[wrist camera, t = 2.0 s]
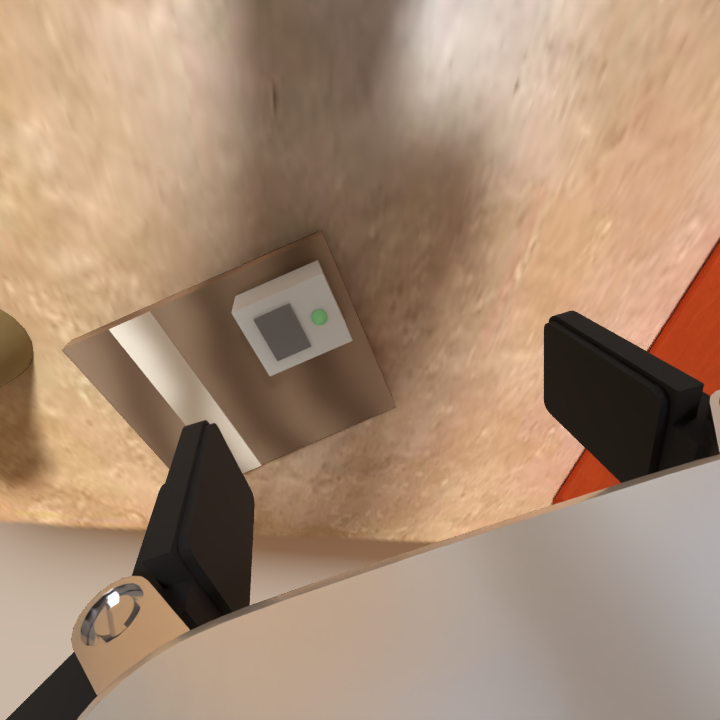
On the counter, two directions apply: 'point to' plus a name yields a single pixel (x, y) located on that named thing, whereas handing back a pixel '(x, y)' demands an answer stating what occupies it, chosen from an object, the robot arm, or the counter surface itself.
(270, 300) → the white box with button
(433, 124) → the counter surface
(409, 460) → the counter surface
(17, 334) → the olive pawn figure
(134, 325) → the board
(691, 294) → the toy gas pump
